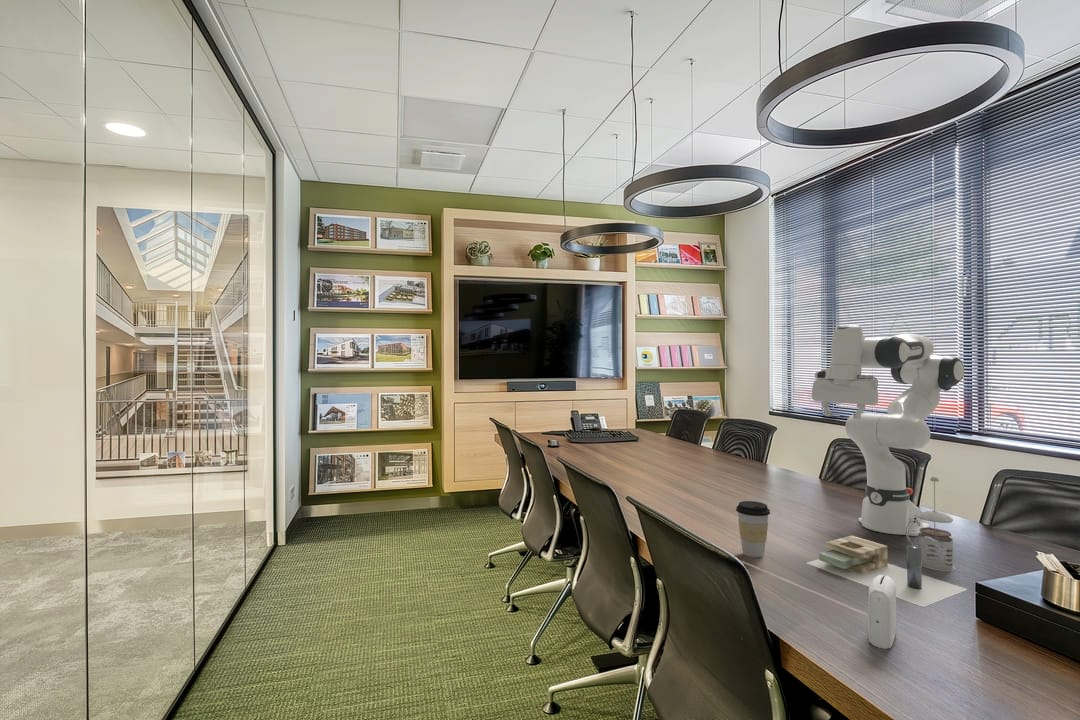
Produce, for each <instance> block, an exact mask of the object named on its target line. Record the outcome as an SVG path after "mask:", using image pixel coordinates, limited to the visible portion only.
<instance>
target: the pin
mask: <svg viewBox="0 0 1080 720" xmlns="http://www.w3.org/2000/svg"><path fill="white" fill-rule="evenodd" d="M915 545H916V544H915ZM915 545H913V544H907V545H906V569H907V586H908V587H910V588H913V589H922V575H923V573H922V572H923V571H922V570H923V569H922V567H923V566H922V549H921V547H919V546H918V545H917V546H915Z"/></svg>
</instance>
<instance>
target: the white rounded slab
mask: <svg viewBox="0 0 1080 720" xmlns="http://www.w3.org/2000/svg"><path fill="white" fill-rule="evenodd" d="M867 599H868V606H867V607H868V640H869V643H871V645H872V646H874V647H875V648H879V649H884V650H888V649H891V648H892V646H893V644H894V641H895V637H896V633H897V597H896V585H895V583H894V581H893V580H892V579H891V578H890V577H888V576H883V575H878V576H876V577H875V578H874V579H873V580H872V582H871V584H870V587H869V588H868V598H867Z"/></svg>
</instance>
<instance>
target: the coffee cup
mask: <svg viewBox="0 0 1080 720" xmlns="http://www.w3.org/2000/svg"><path fill="white" fill-rule="evenodd" d="M735 511H736V512H737V513H738V528H739V537H740V540H741V549H742V555H745V556H746V557H750V558H763V557H765V551H766V542H767V538H768V537H767V536H768V527H769V526H768V525H769V522H768V520H769V515H770V514H771V512H770V509H769V508H768V505H767V504H766V503H763V502H760V501H752V500H751V501H750V500H745V501H744V500H743V501H739V502H738V505H737V506H736V509H735Z"/></svg>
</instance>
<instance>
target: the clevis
mask: <svg viewBox="0 0 1080 720" xmlns="http://www.w3.org/2000/svg"><path fill="white" fill-rule="evenodd" d="M825 548H827V549H830V550H825V551H822V552H819V553H818V555H819V557H818V559H819V560H821V561H823V562H826V563H829V564H832V565H834V566H837V567H840V568H843V569H848V570H851V571H854V572H857V573H859V574H863V573H866V572H869V571H873V570H876V569H879V568H882V567H885V566H887V563H888V545H885V544H882V543H880V542H879V543H878V542H875V541H872V540H869V539H864V538H861V537H859V536H855V535H848V536H843V537H841V538H836V539H833V540H828V541H826V542H825Z"/></svg>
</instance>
